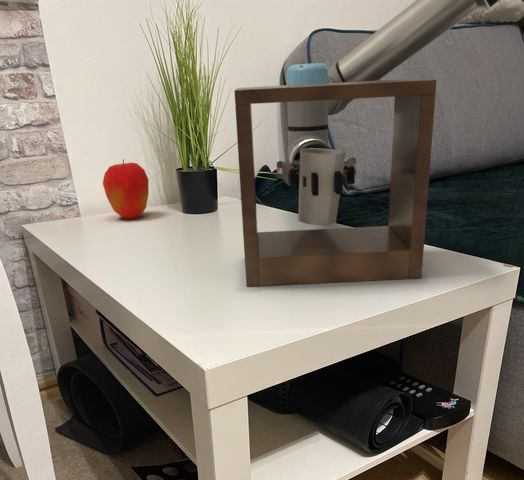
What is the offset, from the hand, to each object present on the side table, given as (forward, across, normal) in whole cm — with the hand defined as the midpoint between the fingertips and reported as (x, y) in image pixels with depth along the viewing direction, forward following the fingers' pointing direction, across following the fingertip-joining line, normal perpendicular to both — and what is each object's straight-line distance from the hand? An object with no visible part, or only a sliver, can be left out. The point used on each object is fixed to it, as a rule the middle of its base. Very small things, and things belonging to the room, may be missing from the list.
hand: (327, 185), depth 80 cm
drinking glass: (-5, +1, -6) cm, 8 cm away
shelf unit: (0, 0, -12) cm, 12 cm away
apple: (-42, +37, -12) cm, 57 cm away
